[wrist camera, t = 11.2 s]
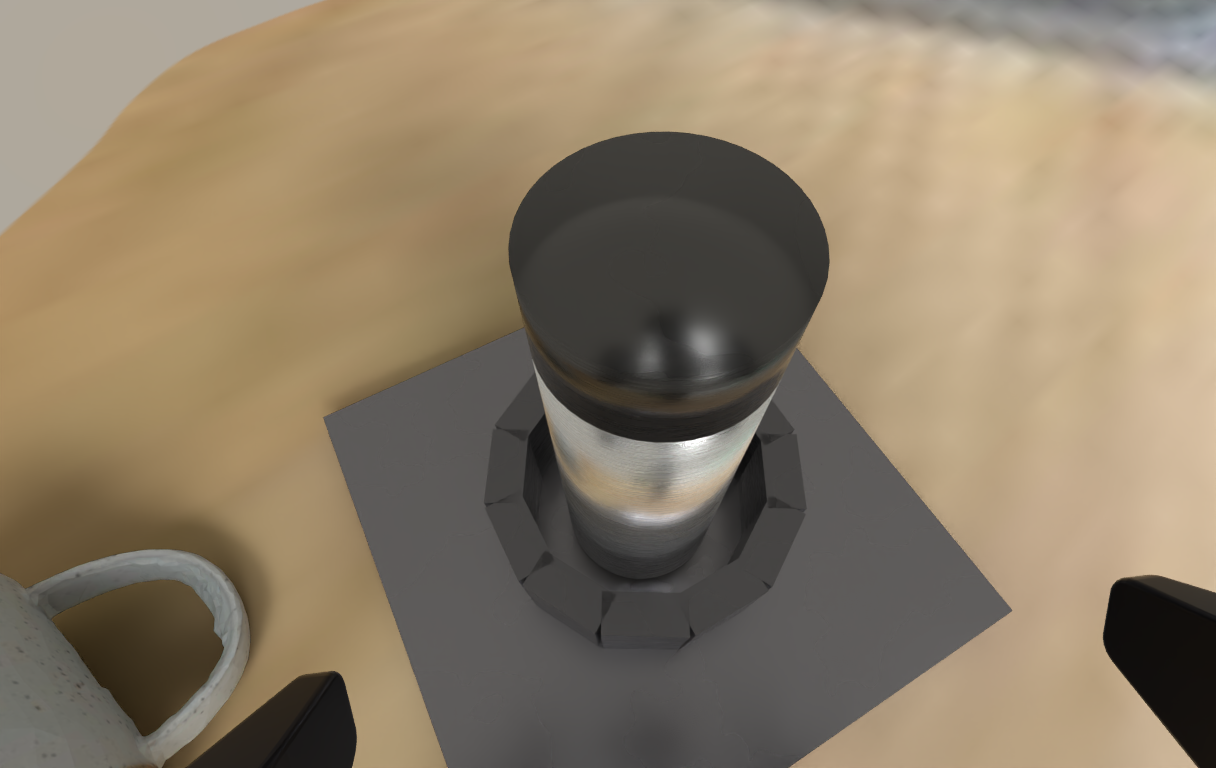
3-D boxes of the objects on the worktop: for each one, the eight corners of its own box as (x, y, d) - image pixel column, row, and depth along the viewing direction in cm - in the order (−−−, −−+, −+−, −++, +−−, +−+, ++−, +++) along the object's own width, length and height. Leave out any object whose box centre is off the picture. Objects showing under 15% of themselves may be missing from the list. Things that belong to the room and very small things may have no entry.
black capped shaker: (662, 608, 18) (733, 442, 7) (542, 526, 19) (441, 275, 8) (732, 488, 19) (879, 204, 9) (619, 420, 21) (621, 96, 10)
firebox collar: (520, 946, 15) (488, 1028, 11) (332, 427, 22) (272, 367, 18) (997, 614, 18) (1096, 589, 15) (708, 256, 25) (725, 176, 21)
